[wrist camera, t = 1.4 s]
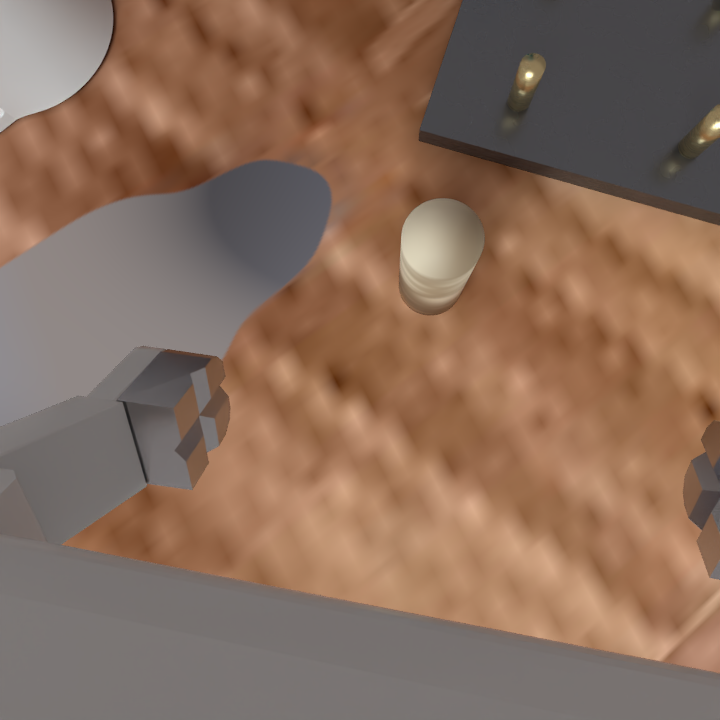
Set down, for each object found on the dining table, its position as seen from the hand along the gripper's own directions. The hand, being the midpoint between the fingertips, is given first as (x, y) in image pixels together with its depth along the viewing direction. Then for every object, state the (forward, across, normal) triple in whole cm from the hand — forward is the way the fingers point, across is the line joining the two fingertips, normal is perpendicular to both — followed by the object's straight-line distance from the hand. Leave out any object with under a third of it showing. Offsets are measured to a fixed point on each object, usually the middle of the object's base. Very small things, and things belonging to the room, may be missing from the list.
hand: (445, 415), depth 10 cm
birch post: (+29, +2, +12) cm, 31 cm away
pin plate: (+41, -9, -1) cm, 42 cm away
